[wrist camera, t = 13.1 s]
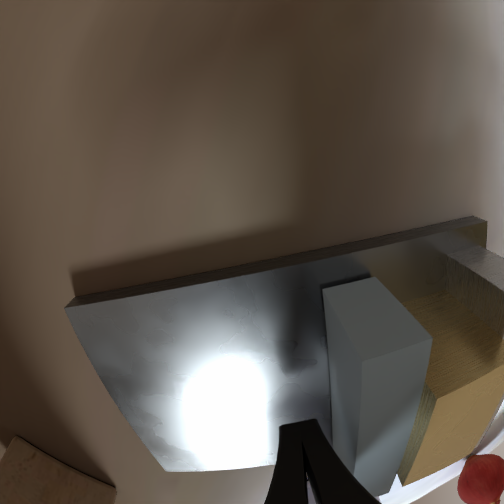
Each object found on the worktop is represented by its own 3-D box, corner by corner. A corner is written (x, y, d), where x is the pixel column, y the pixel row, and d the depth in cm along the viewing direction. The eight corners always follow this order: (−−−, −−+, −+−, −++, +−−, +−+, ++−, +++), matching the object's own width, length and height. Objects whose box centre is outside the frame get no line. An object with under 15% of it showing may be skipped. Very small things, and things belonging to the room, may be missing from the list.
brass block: (428, 387, 13) (470, 453, 8) (369, 409, 13) (402, 486, 8) (444, 289, 11) (519, 354, 6) (373, 311, 11) (437, 398, 6)
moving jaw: (367, 436, 13) (388, 492, 10) (332, 446, 13) (349, 505, 10) (375, 276, 10) (433, 337, 6) (322, 289, 10) (362, 361, 6)
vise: (443, 399, 15) (478, 451, 10) (168, 459, 15) (158, 523, 10) (473, 215, 11) (553, 250, 6) (74, 297, 11) (12, 366, 6)
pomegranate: (495, 441, 19) (524, 486, 12) (458, 473, 21) (481, 519, 13) (482, 436, 18) (515, 490, 10) (439, 472, 19) (465, 526, 12)
